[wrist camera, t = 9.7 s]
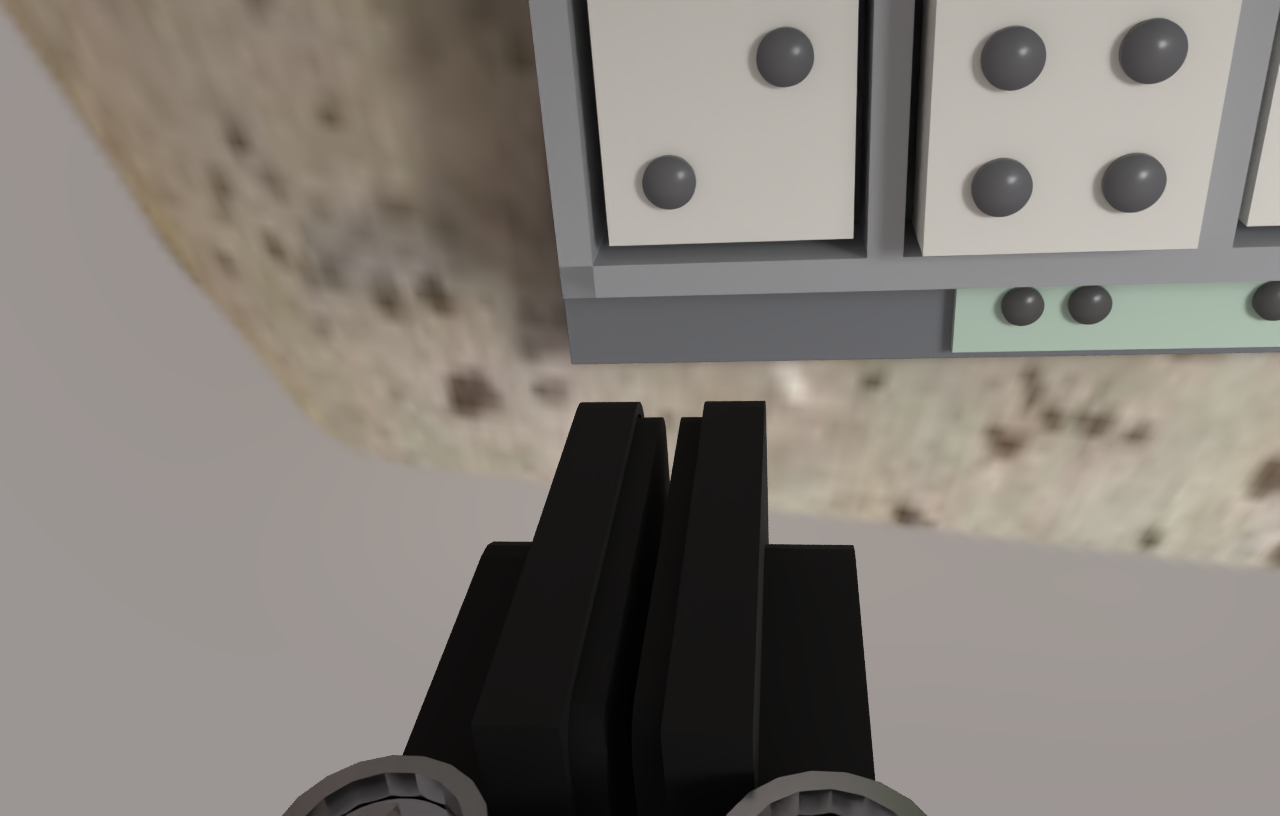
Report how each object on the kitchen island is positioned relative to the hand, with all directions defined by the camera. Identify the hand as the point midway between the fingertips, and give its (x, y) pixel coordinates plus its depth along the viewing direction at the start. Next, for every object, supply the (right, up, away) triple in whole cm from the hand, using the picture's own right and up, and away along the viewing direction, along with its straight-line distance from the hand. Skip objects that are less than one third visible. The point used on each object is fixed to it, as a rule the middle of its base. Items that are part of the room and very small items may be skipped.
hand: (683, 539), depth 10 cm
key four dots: (+8, +8, +14) cm, 18 cm away
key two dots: (+2, +9, +16) cm, 18 cm away
